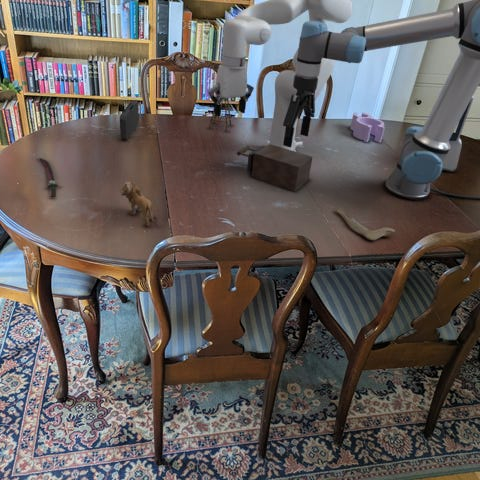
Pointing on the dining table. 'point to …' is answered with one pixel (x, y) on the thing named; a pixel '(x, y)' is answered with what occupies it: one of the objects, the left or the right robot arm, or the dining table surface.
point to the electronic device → (455, 144)
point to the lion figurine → (137, 201)
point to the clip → (367, 127)
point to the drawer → (249, 156)
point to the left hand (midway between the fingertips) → (229, 113)
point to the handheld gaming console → (129, 119)
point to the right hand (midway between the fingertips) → (295, 140)
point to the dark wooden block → (281, 167)
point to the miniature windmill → (221, 109)
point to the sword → (52, 181)
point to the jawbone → (362, 230)
